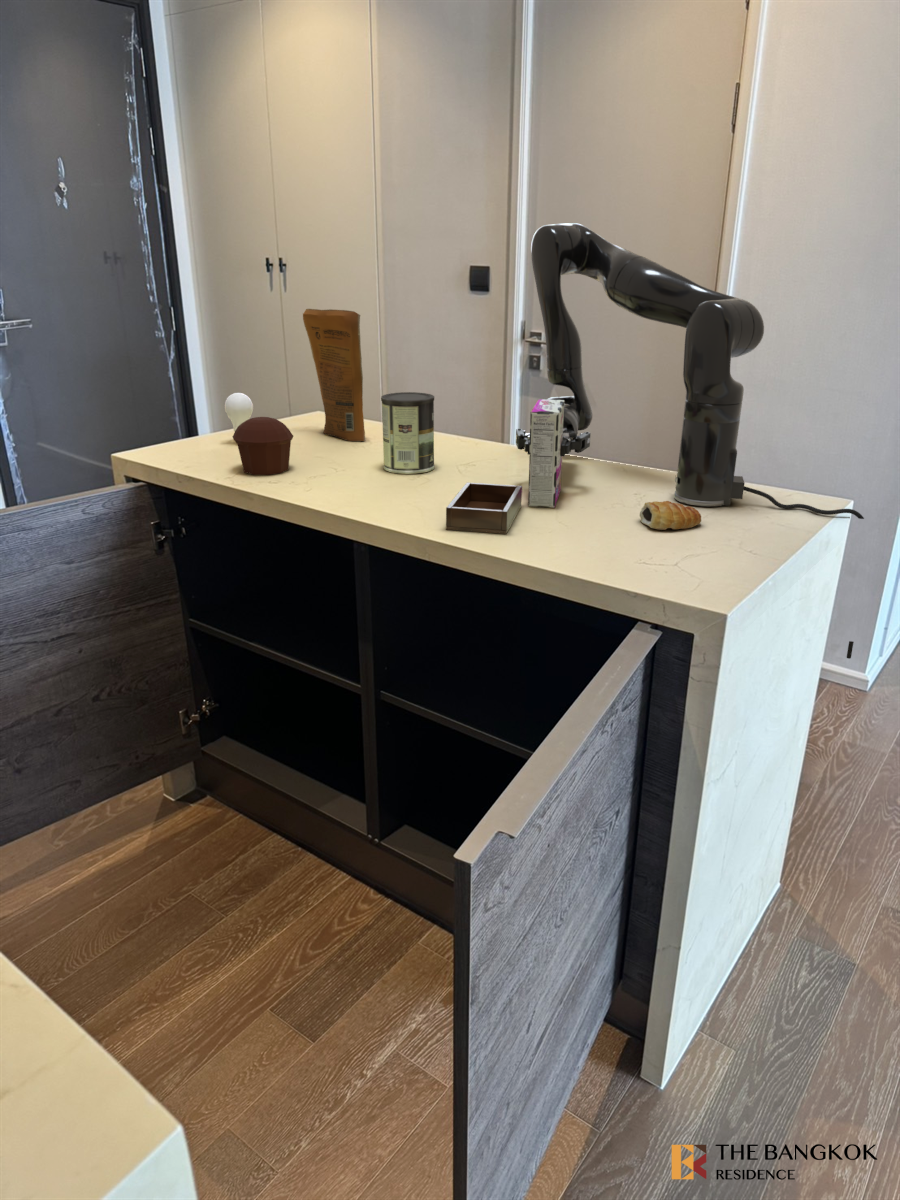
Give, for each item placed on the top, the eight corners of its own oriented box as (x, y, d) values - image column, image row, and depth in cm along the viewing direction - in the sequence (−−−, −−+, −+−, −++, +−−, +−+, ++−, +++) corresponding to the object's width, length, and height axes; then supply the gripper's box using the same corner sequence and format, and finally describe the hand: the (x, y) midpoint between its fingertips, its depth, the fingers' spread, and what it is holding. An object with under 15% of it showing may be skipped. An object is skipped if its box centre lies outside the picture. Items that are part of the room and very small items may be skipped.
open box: (521, 506, 147) (522, 485, 146) (506, 534, 133) (507, 511, 132) (466, 502, 149) (466, 482, 148) (445, 529, 135) (446, 507, 134)
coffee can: (424, 460, 178) (423, 390, 172) (442, 471, 169) (442, 398, 163) (376, 464, 174) (374, 393, 169) (392, 476, 165) (390, 402, 160)
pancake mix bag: (352, 445, 190) (346, 312, 179) (306, 431, 203) (299, 306, 193) (377, 441, 194) (373, 310, 183) (331, 427, 207) (324, 305, 197)
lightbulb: (261, 442, 193) (257, 392, 188) (242, 447, 188) (237, 396, 184) (242, 438, 196) (237, 389, 191) (222, 443, 191) (217, 393, 187)
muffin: (306, 465, 173) (303, 415, 169) (276, 479, 163) (272, 426, 159) (255, 460, 177) (251, 411, 173) (223, 473, 167) (218, 421, 163)
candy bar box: (533, 489, 157) (537, 398, 150) (560, 491, 156) (565, 399, 149) (525, 507, 147) (529, 410, 140) (555, 509, 146) (560, 411, 139)
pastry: (689, 517, 142) (692, 494, 140) (708, 530, 136) (711, 506, 134) (635, 520, 140) (637, 497, 139) (652, 533, 134) (654, 509, 132)
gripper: (520, 408, 163) (505, 425, 148) (596, 411, 160) (589, 429, 145) (518, 447, 166) (504, 468, 151) (594, 451, 163) (586, 473, 148)
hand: (546, 449), depth 148 cm, fingers closed on candy bar box, 5 cm apart
